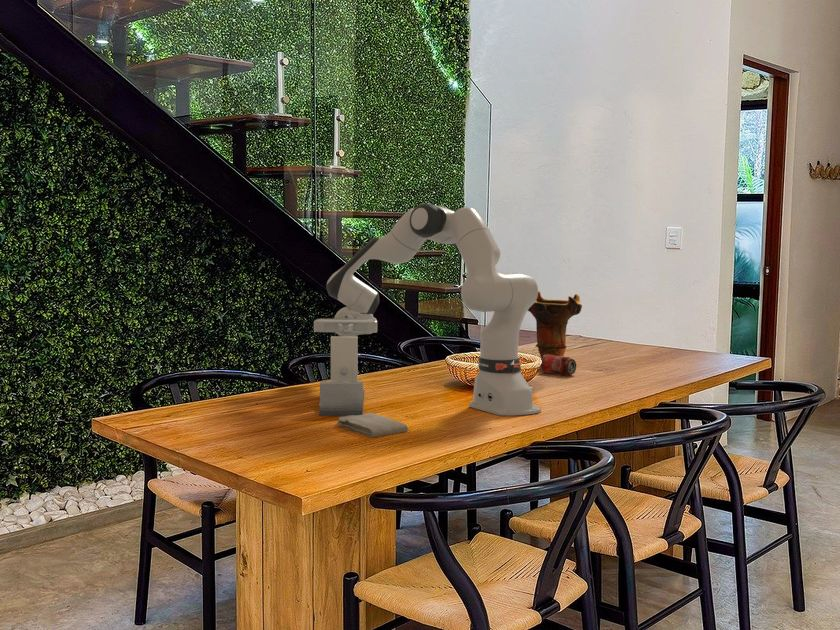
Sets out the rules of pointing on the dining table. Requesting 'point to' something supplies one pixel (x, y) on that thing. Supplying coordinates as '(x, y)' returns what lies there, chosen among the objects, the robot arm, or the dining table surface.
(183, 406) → the dining table surface
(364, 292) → the robot arm
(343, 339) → the upright white panel
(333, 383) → the base
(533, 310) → the decorative vase
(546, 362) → the beverage can
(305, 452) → the dining table surface
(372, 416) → the washcloth
